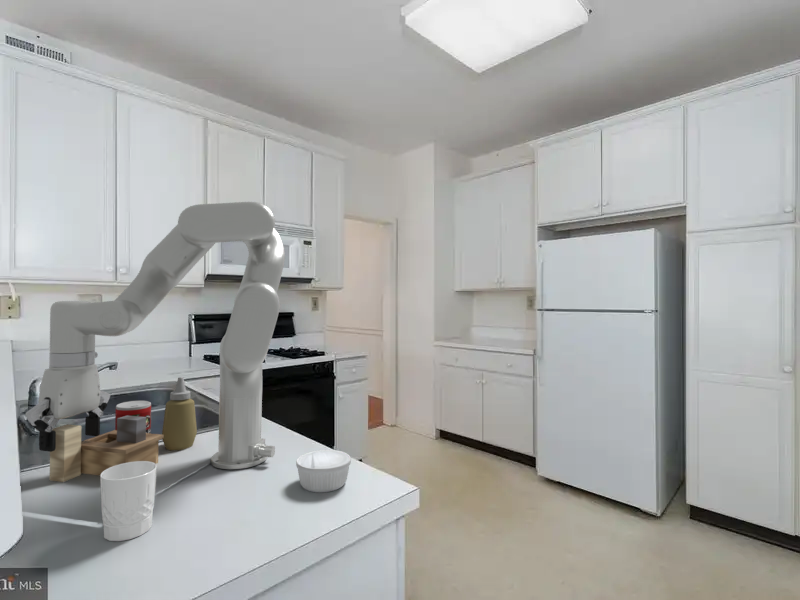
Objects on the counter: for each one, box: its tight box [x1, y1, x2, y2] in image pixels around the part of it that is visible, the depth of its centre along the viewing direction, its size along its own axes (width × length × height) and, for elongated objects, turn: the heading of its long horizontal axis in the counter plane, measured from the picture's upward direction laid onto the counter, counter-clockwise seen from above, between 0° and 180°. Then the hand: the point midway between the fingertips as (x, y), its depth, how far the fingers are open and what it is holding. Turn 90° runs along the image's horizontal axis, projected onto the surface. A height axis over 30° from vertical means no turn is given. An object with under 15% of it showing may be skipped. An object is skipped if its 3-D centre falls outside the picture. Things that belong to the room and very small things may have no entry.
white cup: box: [99, 461, 158, 542], centre depth 70 cm, size 8×8×10 cm
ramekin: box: [295, 449, 352, 493], centre depth 90 cm, size 11×11×5 cm
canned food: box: [114, 400, 152, 434], centre depth 109 cm, size 8×8×11 cm
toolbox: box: [81, 437, 160, 476], centre depth 94 cm, size 12×9×6 cm
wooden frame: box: [81, 415, 164, 454], centre depth 94 cm, size 13×10×6 cm
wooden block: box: [49, 423, 82, 483], centre depth 89 cm, size 4×4×11 cm
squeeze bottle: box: [161, 376, 198, 452], centre depth 109 cm, size 8×8×18 cm
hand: (71, 442), depth 89 cm, fingers open, 9 cm apart
